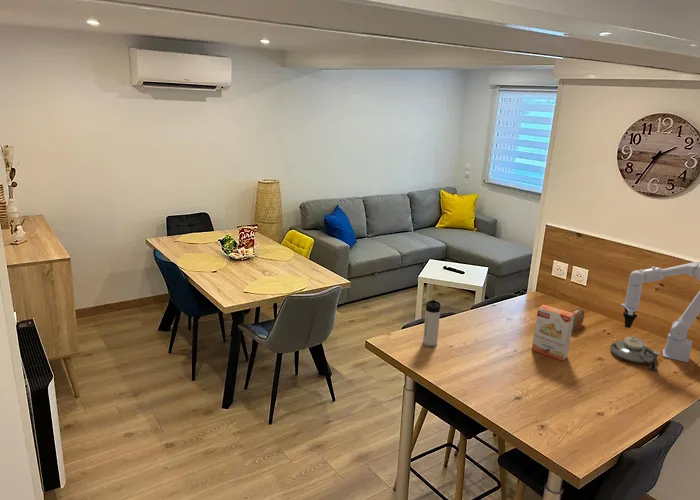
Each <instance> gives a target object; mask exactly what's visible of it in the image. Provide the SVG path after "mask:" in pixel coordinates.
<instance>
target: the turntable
mask: <svg viewBox="0 0 700 500" xmlns="http://www.w3.org/2000/svg"><path fill="white" fill-rule="evenodd" d="M645 348H647V349H649V350H651V351H652V352H653V351H654V349H652V348H650V347H648V346H646V345H644V350H642V351H634V350H631V349H628V348H626V347H625V346H624V340H618V339H616V338H613V342H612V343H610V348H609V350H610V352H611V353H612V354H613V355H614V356H616V357H618V358H620V359H622V360H624V361H628V362H632V363H636V364H652V363H653V358H654V355H652V354H650V353H649V352H646V355H645V354H644V351H645Z"/></svg>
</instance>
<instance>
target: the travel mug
mask: <svg viewBox="0 0 700 500" xmlns="http://www.w3.org/2000/svg"><path fill="white" fill-rule="evenodd" d="M425 304H426V305H425V313H424V314H425V315H424V326H423V337H422V338H423V340H422V344H423V345H424V347H427V348H434V347H437V345H438V338H439V337H438V335H439V326H440V316H441V303H440V302H438V301H437V300H435V299H431V300H428V301H427V302H426V303H425Z"/></svg>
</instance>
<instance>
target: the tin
mask: <svg viewBox="0 0 700 500" xmlns="http://www.w3.org/2000/svg"><path fill="white" fill-rule="evenodd" d="M571 313H574V314H575V316H574V322H573V327H572V331H576V330H577V329H578V328H579V327H581V326H582V324H583V322H584V318H585V311H584V310H583V309H580V308H577V309H575V310H574V311H572V312H571Z"/></svg>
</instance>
